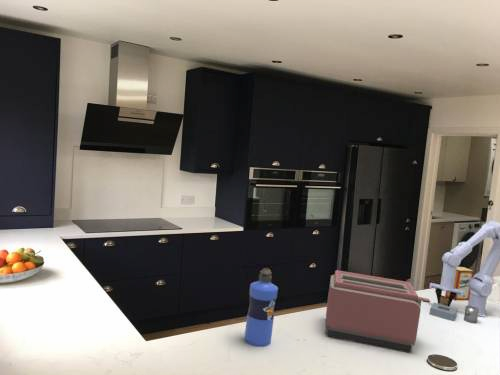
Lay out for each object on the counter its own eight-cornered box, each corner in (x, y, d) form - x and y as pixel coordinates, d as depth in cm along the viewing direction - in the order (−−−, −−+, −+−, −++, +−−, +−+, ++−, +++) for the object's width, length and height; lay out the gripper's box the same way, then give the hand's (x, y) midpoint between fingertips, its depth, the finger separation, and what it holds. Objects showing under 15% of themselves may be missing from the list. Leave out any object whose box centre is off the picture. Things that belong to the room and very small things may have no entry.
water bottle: (276, 340, 148) (285, 270, 146) (261, 349, 140) (270, 275, 138) (253, 331, 153) (262, 263, 151) (238, 339, 145) (247, 267, 143)
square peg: (439, 307, 205) (441, 295, 205) (447, 309, 203) (449, 297, 203) (438, 309, 202) (440, 297, 202) (446, 311, 200) (448, 299, 200)
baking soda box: (459, 295, 229) (464, 266, 227) (469, 300, 222) (474, 270, 221) (445, 295, 226) (449, 266, 224) (454, 300, 219) (459, 269, 218)
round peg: (464, 317, 195) (466, 304, 194) (477, 321, 192) (479, 308, 192) (463, 320, 190) (465, 307, 190) (476, 324, 188) (478, 311, 187)
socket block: (433, 308, 202) (433, 302, 202) (456, 315, 197) (457, 308, 197) (429, 314, 194) (430, 307, 193) (453, 321, 188) (454, 314, 188)
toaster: (427, 357, 149) (437, 300, 147) (323, 337, 156) (331, 281, 154) (417, 335, 168) (425, 284, 166) (325, 317, 175) (331, 268, 173)
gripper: (430, 275, 202) (425, 303, 203) (464, 283, 194) (459, 313, 195) (432, 273, 208) (428, 300, 209) (465, 280, 200) (461, 309, 201)
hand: (443, 306), depth 203 cm, fingers closed on square peg, 4 cm apart
